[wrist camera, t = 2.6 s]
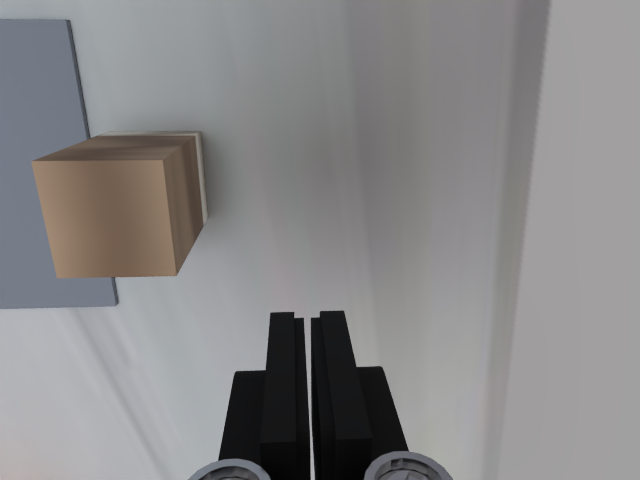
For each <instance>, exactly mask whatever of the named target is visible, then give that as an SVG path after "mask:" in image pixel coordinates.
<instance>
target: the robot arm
mask: <svg viewBox="0 0 640 480" xmlns="http://www.w3.org/2000/svg"><path fill="white" fill-rule="evenodd" d="M311 405H312V437H313V453H314V470H315V480H453V478H452V477H451V476H450V475H449V473H448V472H447V471H446V470H445V468H444V467H442V466H441V465H440V464H438V463H437V462H436V461H434V460H433V459H431V458H429V457H426V456H424V455H422V454H419V453H414V452H409V450H408V447H407V444H406V440H405V437H404V434H403V431H402V428H401V424H400V421H399V418H398V415H397V412H396V408H395V405H394V402H393V399H392V396H391V392H390V389H389V386H388V383H387V380H386V376H385V373H384V370H383V368H382V367H381V366H375V367H356V363H355V358H354V354H353V349H352V345H351V340H350V336H349V331H348V327H347V322H346V318H345V313H344V311H320V318H311ZM188 480H311V477H310V428H309V409H308V390H307V371H306V353H305V334H304V318H294V312H276V313H271V314H270V325H269V337H268V349H267V361H266V370H260V371H236V372H235V374H234V378H233V384H232V389H231V395H230V400H229V405H228V411H227V416H226V421H225V427H224V432H223V438H222V443H221V448H220V454H219V459H218V461H217V462H213V463H210V464H208V465H207V466H205V467H203V468H201V469H200V470H198V471H197V472H196V473H195V474H193V475H192V476H191V477H190V478H189V479H188Z"/></svg>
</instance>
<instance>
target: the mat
mask: <svg viewBox="0 0 640 480" xmlns="http://www.w3.org/2000/svg"><path fill="white" fill-rule="evenodd" d="M88 139H90V136H89V131H88V125H87V119H86V113H85V107H84V102H83V96H82V90H81V84H80V78H79V73H78V67H77V61H76V55H75V50H74V44H73V38H72V32H71V26H70V21H69V20H9V19H0V309H19V308H61V307H102V306H117V304H118V298H117V293H116V287H115V281H114V277H99V278H57V276H56V272H55V267H54V263H53V258H52V254H51V249H50V244H49V240H48V235H47V231H46V226H45V222H44V217H43V213H42V208H41V204H40V199H39V195H38V190H37V186H36V181H35V177H34V172H33V168H32V163H31V161H33V160H36V159H38V158H41V157H43V156H46V155H49V154H51V153H54V152H56V151H59V150H62V149H64V148H67V147H70V146H72V145H75V144H77V143H80V142H83V141H85V140H88Z"/></svg>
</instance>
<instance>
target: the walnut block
mask: <svg viewBox="0 0 640 480" xmlns="http://www.w3.org/2000/svg"><path fill="white" fill-rule="evenodd" d="M31 163H32V168H33V172H34V177H35V181H36V186H37V190H38V195H39V199H40V204H41V208H42V213H43V217H44V222H45V226H46V231H47V235H48V240H49V244H50V249H51V254H52V258H53V263H54V267H55V272H56V276H57V278H99V277H148V276H177V274H178V272H179V270H180V269H181V267H182V265H183V263H184V261H185V259H186V257H187V256H188V254H189V252H190V250H191V248H192V246H193V245H194V243H195V241H196V239H197V237H198V235H199V234H200V232H201V230H202V228H203V226H204V224H205V222H206V221H207V219H208V210H207V199H206V187H205V176H204V164H203V153H202V142H201V131H172V132H106V133H103V134H101V135H98V136H96V137H93V138H90V139H88V140H85V141H83V142H80V143H77V144H75V145H72V146H70V147H67V148H64V149H62V150H59V151H56V152H54V153H51V154H49V155H46V156H43V157H41V158H38V159H36V160H33V161H31Z"/></svg>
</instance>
